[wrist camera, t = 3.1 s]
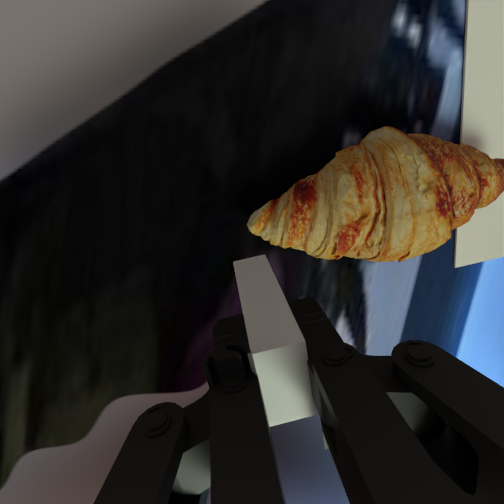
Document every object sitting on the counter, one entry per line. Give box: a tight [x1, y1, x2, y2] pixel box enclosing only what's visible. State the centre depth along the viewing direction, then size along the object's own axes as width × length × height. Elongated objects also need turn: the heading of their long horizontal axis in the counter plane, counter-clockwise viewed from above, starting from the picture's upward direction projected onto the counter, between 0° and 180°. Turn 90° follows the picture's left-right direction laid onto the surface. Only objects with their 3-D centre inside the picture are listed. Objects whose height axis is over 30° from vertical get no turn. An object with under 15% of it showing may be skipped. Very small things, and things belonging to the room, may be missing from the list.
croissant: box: [247, 126, 504, 262], centre depth 24 cm, size 21×10×8 cm, turn 102°
